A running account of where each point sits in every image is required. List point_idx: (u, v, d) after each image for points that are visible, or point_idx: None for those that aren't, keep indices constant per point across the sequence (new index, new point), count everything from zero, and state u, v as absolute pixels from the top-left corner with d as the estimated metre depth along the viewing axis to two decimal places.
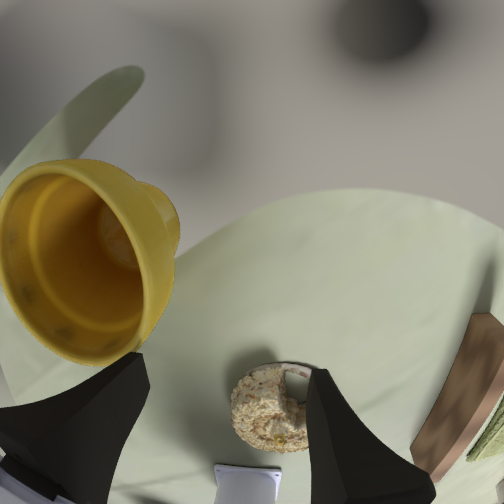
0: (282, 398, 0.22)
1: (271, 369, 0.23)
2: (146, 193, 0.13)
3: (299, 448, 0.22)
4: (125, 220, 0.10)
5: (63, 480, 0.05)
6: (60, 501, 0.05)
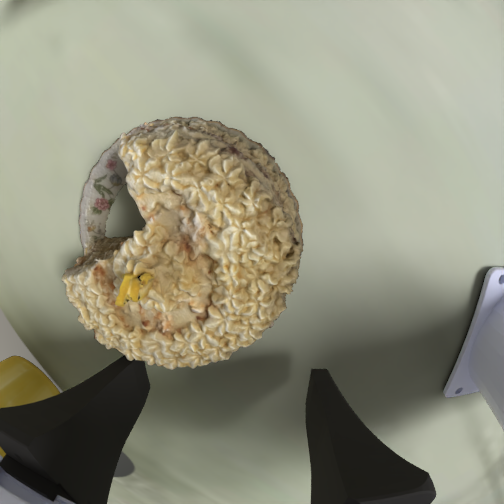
0: (99, 257, 0.10)
1: None
2: None
3: (242, 213, 0.08)
4: None
5: (63, 480, 0.05)
6: (60, 501, 0.05)
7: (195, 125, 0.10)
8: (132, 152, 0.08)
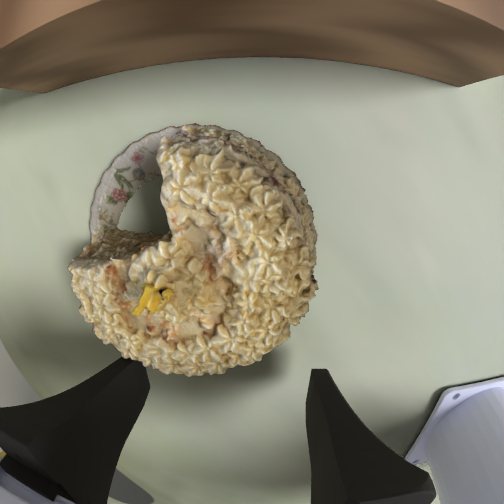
0: (111, 253, 0.10)
1: None
2: None
3: (272, 247, 0.08)
4: None
5: (63, 480, 0.05)
6: (60, 501, 0.05)
7: (235, 141, 0.10)
8: (173, 161, 0.08)
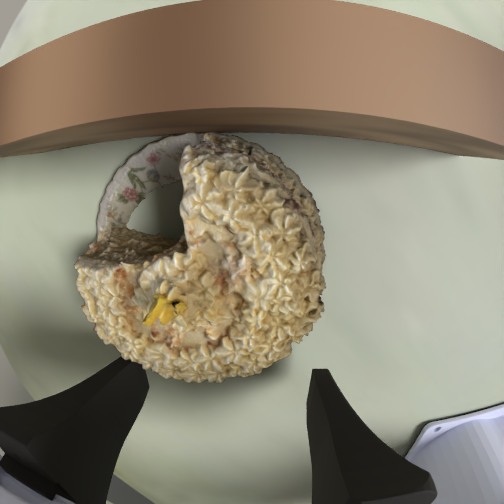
0: (120, 254, 0.10)
1: None
2: None
3: (287, 269, 0.09)
4: None
5: (62, 479, 0.05)
6: (59, 500, 0.05)
7: (257, 157, 0.10)
8: (197, 174, 0.08)
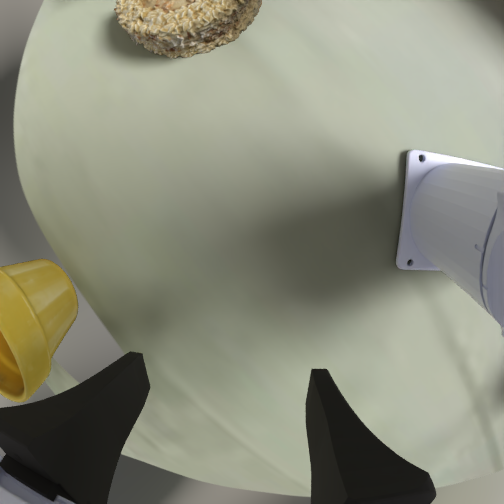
0: None
1: None
2: None
3: None
4: None
5: (63, 480, 0.05)
6: (60, 501, 0.05)
7: None
8: None
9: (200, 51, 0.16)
